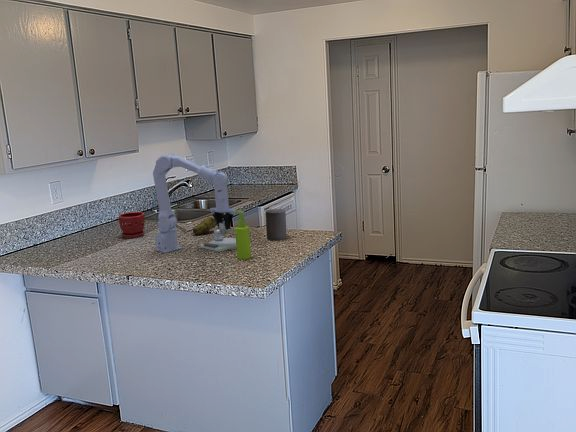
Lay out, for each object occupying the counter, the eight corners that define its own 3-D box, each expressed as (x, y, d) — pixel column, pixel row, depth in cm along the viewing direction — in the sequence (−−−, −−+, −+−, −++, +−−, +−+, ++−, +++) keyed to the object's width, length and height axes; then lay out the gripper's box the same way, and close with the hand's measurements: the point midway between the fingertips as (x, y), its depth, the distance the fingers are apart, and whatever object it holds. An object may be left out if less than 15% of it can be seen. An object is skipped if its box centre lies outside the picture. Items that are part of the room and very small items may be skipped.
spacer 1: (220, 241, 260) (219, 231, 259) (213, 241, 261) (212, 230, 260) (224, 239, 263) (223, 229, 262) (217, 239, 265) (216, 229, 264)
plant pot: (116, 239, 287) (113, 216, 285) (129, 233, 300) (126, 211, 298) (139, 239, 284) (136, 216, 282) (151, 233, 297) (148, 211, 295)
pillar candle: (264, 240, 264) (262, 209, 261) (270, 235, 273) (268, 205, 270) (283, 241, 261) (281, 209, 258) (289, 236, 270) (288, 205, 267)
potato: (191, 233, 290) (189, 218, 289) (215, 230, 294) (214, 215, 293) (194, 236, 282) (192, 221, 281) (218, 233, 287) (217, 218, 285)
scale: (219, 251, 248) (218, 246, 247) (199, 247, 259) (198, 242, 258) (247, 243, 259) (246, 239, 259) (227, 240, 270) (226, 235, 269)
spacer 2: (224, 234, 250) (223, 223, 249) (218, 233, 252) (217, 222, 251) (230, 232, 253) (229, 221, 252) (224, 231, 255) (223, 221, 254)
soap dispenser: (242, 254, 240) (238, 209, 236) (254, 256, 236) (250, 210, 232) (232, 258, 236) (228, 211, 232) (244, 260, 231) (240, 213, 228)
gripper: (204, 200, 251) (206, 229, 254) (227, 201, 242) (229, 231, 245) (215, 197, 257) (218, 226, 259) (238, 198, 248) (240, 228, 250)
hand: (224, 228), depth 252 cm, fingers closed on spacer 2, 4 cm apart
